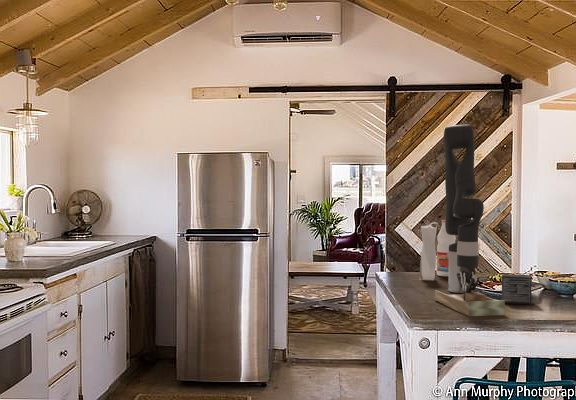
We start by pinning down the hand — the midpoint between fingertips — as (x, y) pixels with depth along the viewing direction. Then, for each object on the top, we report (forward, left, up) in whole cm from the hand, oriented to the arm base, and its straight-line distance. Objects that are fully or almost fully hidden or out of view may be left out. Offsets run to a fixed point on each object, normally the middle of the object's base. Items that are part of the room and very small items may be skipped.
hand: (467, 301), depth 204 cm
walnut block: (0, +5, -1) cm, 5 cm away
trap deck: (-3, -5, -3) cm, 7 cm away
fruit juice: (-29, -77, -4) cm, 82 cm away
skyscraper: (-15, -67, -4) cm, 69 cm away
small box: (-26, -10, -4) cm, 28 cm away
